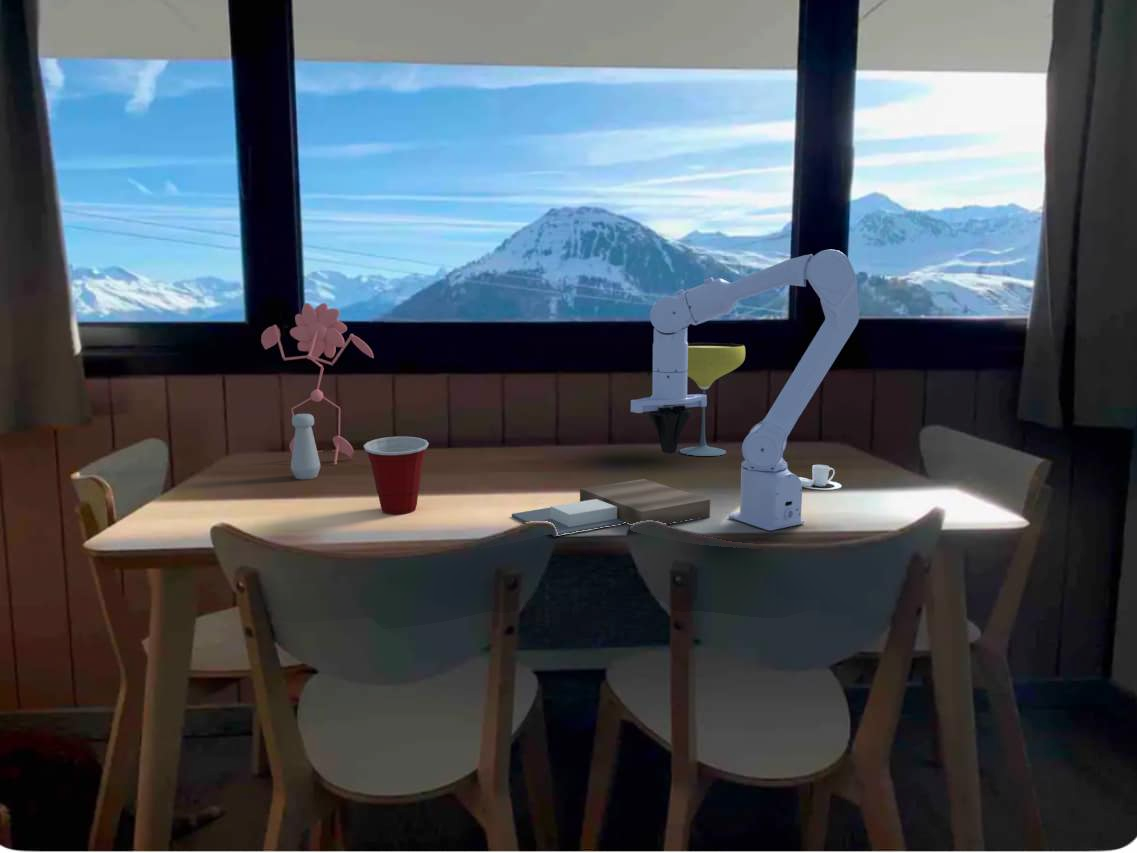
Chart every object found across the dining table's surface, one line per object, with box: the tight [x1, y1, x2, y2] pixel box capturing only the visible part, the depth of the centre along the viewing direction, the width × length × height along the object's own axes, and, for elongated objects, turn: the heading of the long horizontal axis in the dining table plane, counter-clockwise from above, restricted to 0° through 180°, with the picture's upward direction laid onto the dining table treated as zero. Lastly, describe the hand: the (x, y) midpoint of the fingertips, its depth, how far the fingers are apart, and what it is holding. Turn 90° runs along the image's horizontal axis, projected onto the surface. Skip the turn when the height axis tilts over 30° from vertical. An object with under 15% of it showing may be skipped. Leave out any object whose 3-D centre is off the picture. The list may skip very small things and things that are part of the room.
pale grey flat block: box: [550, 499, 617, 527], centre depth 131 cm, size 9×6×2 cm, turn 121°
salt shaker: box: [290, 413, 321, 481], centre depth 163 cm, size 6×6×13 cm
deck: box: [579, 478, 711, 524], centre depth 137 cm, size 18×14×3 cm
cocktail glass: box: [679, 342, 746, 457], centre depth 186 cm, size 18×18×25 cm
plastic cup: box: [363, 436, 430, 515], centre depth 137 cm, size 11×11×12 cm
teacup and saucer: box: [798, 464, 842, 491], centre depth 155 cm, size 9×8×4 cm
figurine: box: [260, 302, 375, 466], centre depth 180 cm, size 15×26×35 cm, turn 84°
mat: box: [511, 506, 625, 535], centre depth 132 cm, size 14×13×1 cm
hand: (668, 452), depth 134 cm, fingers closed
